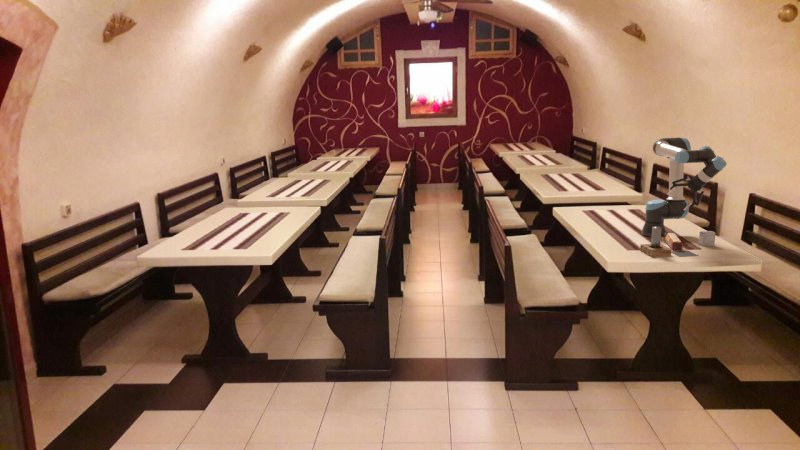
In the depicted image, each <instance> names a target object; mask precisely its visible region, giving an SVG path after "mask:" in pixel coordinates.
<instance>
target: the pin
mask: <svg viewBox="0 0 800 450" xmlns="http://www.w3.org/2000/svg"><path fill="white" fill-rule="evenodd" d="M661 239H662V237H661V227H652V237H651V239H650V240H651V242H650V244H651V248H660V244H661Z"/></svg>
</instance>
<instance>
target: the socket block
mask: <svg viewBox="0 0 800 450" xmlns="http://www.w3.org/2000/svg"><path fill="white" fill-rule="evenodd" d="M639 249H640V250H639V251H640V252H641V253H643V252H644V253H643V254H646V256H649V257H650V258H652V257H653V258H654V257H665V256H666V257H668V256H672V253H671V251H672V249H671V248H670V247H667V246H665V245H664V244H662V243H660V248H651V243H643V244H642V243H640V247H639Z"/></svg>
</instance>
